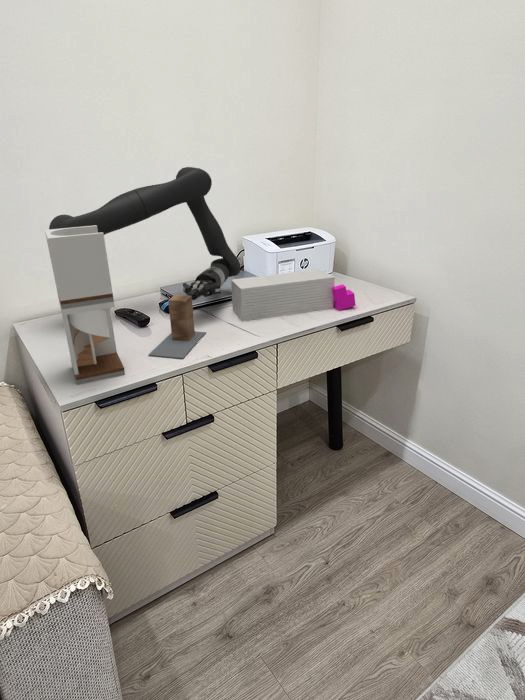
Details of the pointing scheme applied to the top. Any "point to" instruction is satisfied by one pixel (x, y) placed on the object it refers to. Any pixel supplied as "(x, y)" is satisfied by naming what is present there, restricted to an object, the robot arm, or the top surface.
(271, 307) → the long grey block
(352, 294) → the toy block
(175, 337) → the walnut block
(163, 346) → the rubber mat
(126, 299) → the top surface
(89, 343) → the white open-top tower
